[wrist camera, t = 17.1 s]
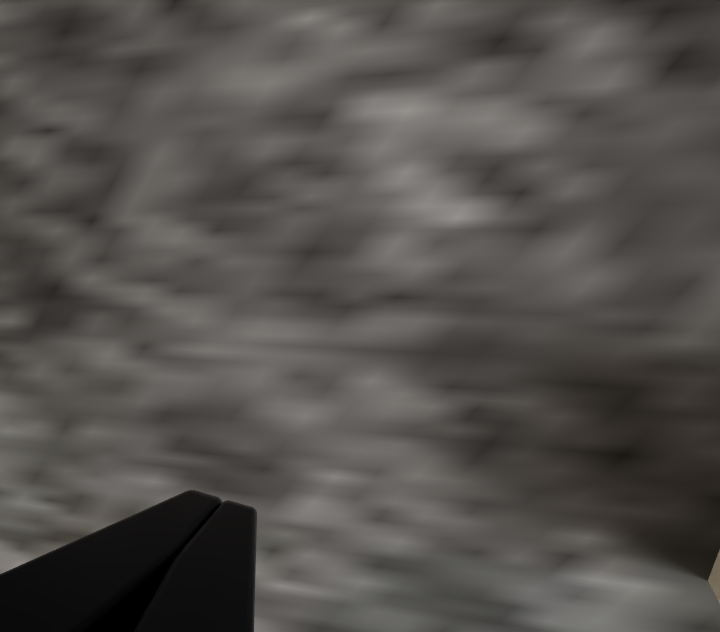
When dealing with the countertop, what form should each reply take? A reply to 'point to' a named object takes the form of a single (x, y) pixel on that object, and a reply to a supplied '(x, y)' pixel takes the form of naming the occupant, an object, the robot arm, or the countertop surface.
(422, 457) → the countertop surface
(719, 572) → the block
